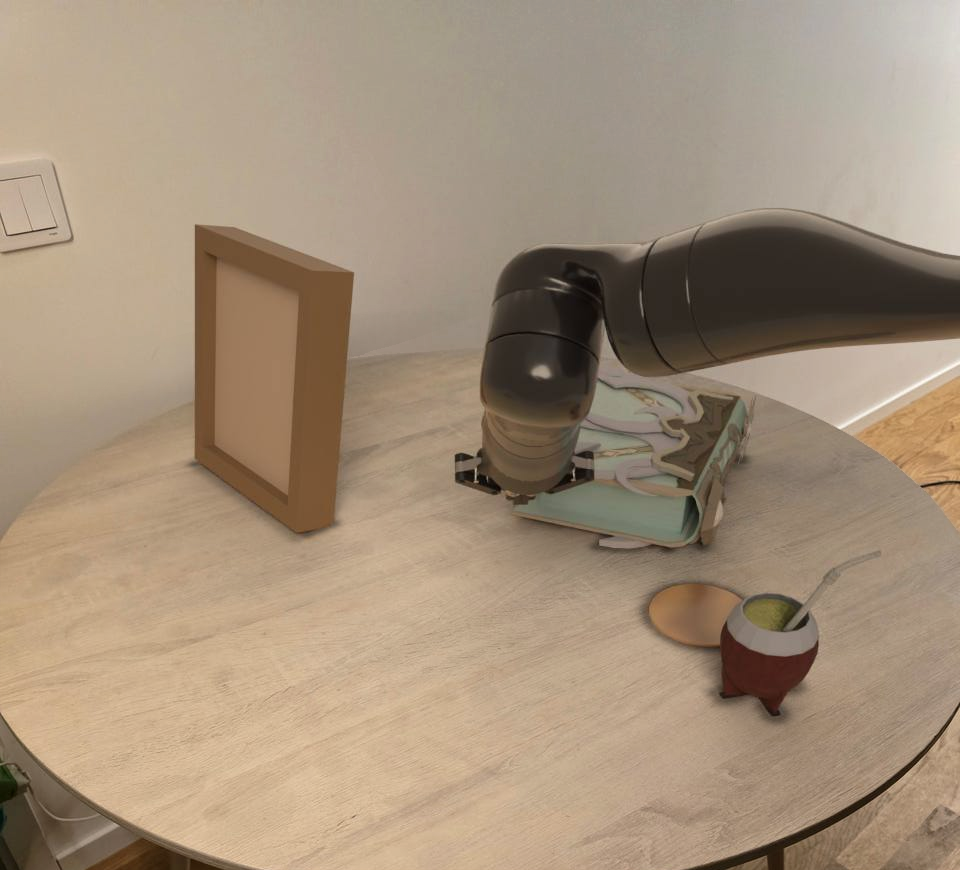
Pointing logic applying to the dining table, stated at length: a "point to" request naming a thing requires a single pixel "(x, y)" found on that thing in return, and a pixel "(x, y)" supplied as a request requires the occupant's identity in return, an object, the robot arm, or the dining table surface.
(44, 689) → the dining table surface
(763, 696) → the mate gourd
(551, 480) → the robot arm
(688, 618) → the shallow brown plate
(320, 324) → the photo frame
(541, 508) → the ornate book
